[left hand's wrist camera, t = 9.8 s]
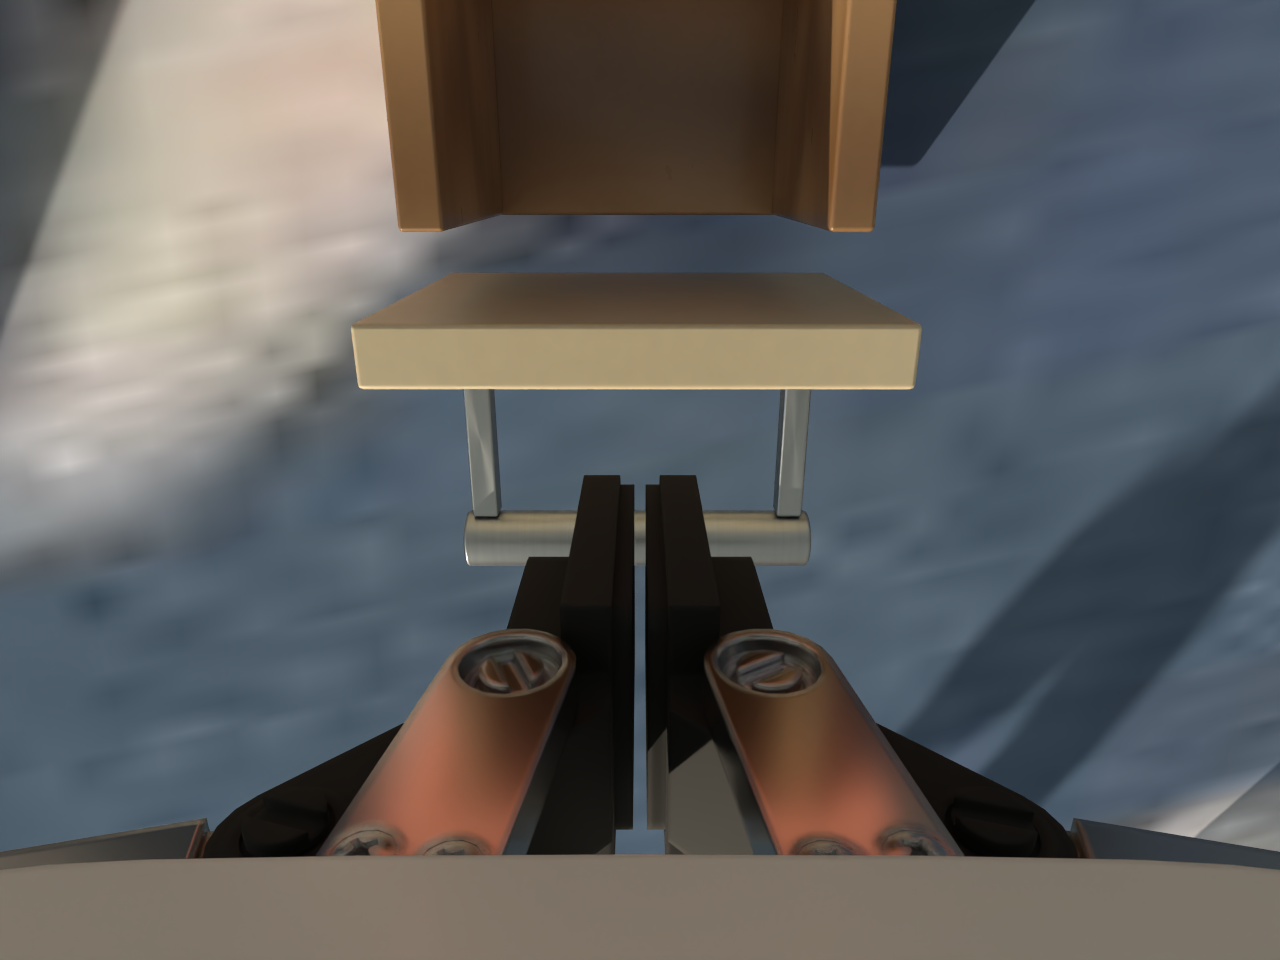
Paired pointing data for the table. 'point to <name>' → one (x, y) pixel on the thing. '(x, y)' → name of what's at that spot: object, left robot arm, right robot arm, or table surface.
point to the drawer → (636, 185)
